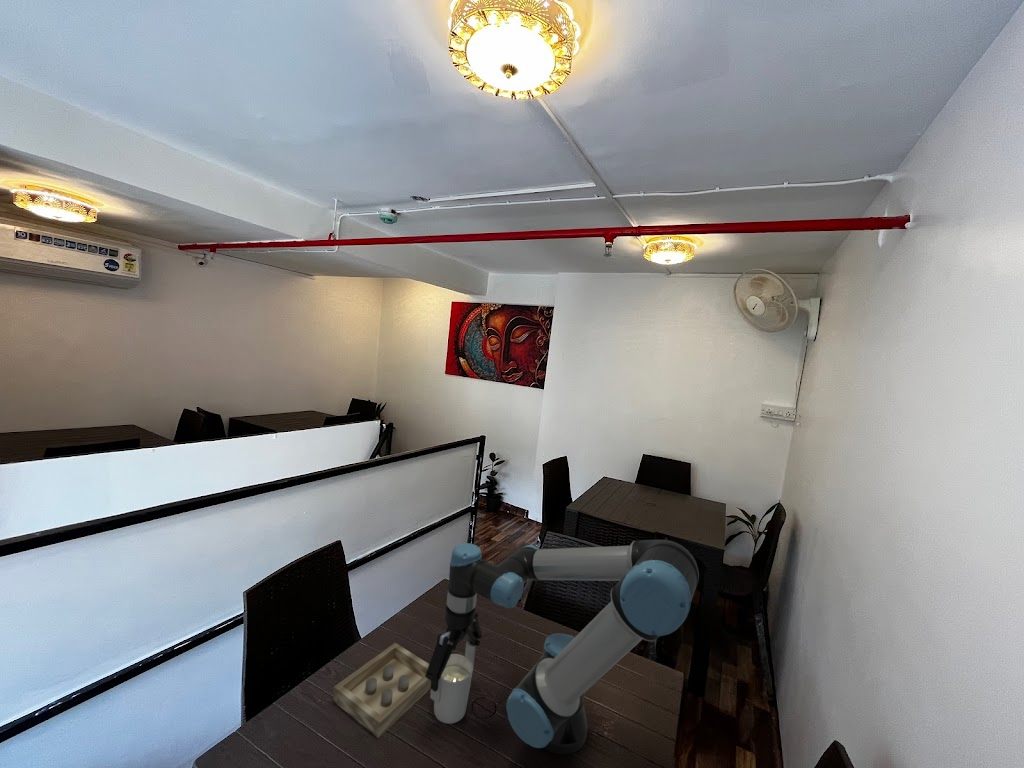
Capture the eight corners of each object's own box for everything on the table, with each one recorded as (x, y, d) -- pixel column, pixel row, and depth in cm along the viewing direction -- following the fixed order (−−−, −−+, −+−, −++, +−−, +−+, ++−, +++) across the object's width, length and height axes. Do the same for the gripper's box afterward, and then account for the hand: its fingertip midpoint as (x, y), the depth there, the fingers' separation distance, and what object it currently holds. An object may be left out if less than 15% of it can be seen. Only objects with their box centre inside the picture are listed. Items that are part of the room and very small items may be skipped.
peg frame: (436, 683, 118) (438, 669, 118) (378, 738, 100) (379, 722, 100) (393, 654, 127) (395, 642, 127) (332, 701, 109) (334, 686, 109)
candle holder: (461, 731, 105) (466, 686, 104) (424, 720, 106) (429, 676, 105) (473, 700, 114) (477, 658, 113) (439, 690, 116) (443, 649, 115)
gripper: (477, 579, 120) (469, 649, 122) (415, 623, 99) (407, 707, 101) (499, 589, 117) (491, 661, 118) (439, 637, 95) (431, 724, 97)
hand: (452, 682), depth 110 cm, fingers open, 13 cm apart
